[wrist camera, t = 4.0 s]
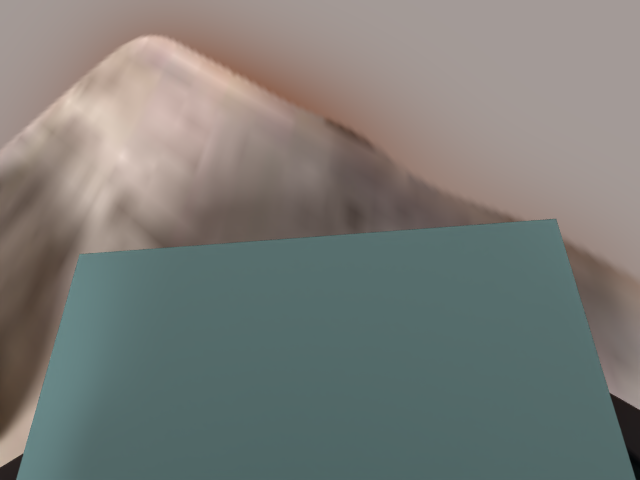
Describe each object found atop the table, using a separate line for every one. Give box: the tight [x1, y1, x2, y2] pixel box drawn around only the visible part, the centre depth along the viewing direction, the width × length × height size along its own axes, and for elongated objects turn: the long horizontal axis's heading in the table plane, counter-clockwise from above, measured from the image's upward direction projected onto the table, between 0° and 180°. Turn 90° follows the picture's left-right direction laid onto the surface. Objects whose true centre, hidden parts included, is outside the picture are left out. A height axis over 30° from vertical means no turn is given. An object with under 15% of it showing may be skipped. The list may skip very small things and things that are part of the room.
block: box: [16, 219, 636, 480], centre depth 8 cm, size 5×5×11 cm
